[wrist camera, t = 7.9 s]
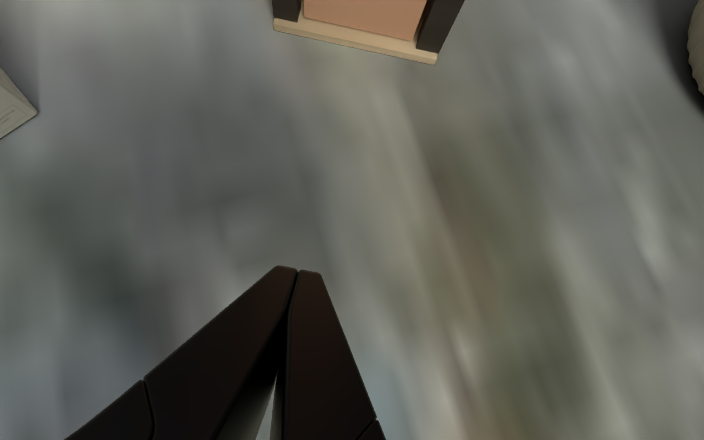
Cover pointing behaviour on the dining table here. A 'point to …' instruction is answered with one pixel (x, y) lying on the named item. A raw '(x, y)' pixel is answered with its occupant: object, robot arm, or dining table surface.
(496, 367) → the dining table surface
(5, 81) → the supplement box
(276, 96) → the dining table surface
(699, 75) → the canister
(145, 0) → the dining table surface
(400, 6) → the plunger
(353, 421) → the robot arm
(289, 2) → the sleeve
